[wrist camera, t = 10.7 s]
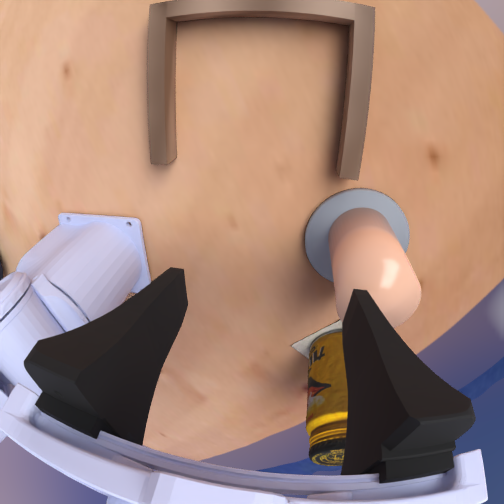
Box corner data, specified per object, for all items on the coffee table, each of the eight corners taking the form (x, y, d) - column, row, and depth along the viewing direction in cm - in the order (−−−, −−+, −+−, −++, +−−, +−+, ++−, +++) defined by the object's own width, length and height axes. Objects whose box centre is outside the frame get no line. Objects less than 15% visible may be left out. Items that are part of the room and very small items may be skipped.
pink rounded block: (375, 289, 23) (391, 356, 17) (318, 283, 23) (321, 353, 17) (398, 212, 19) (433, 270, 13) (333, 203, 19) (347, 261, 13)
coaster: (298, 276, 24) (298, 280, 23) (312, 180, 19) (312, 183, 19) (390, 285, 23) (392, 290, 22) (418, 197, 18) (421, 200, 18)
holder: (161, 157, 20) (150, 164, 18) (161, 9, 14) (149, 4, 12) (353, 172, 18) (358, 180, 17) (368, 13, 12) (375, 7, 11)
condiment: (290, 344, 28) (280, 456, 18) (364, 304, 24) (383, 429, 14) (331, 375, 30) (330, 473, 20) (397, 343, 27) (417, 449, 17)
